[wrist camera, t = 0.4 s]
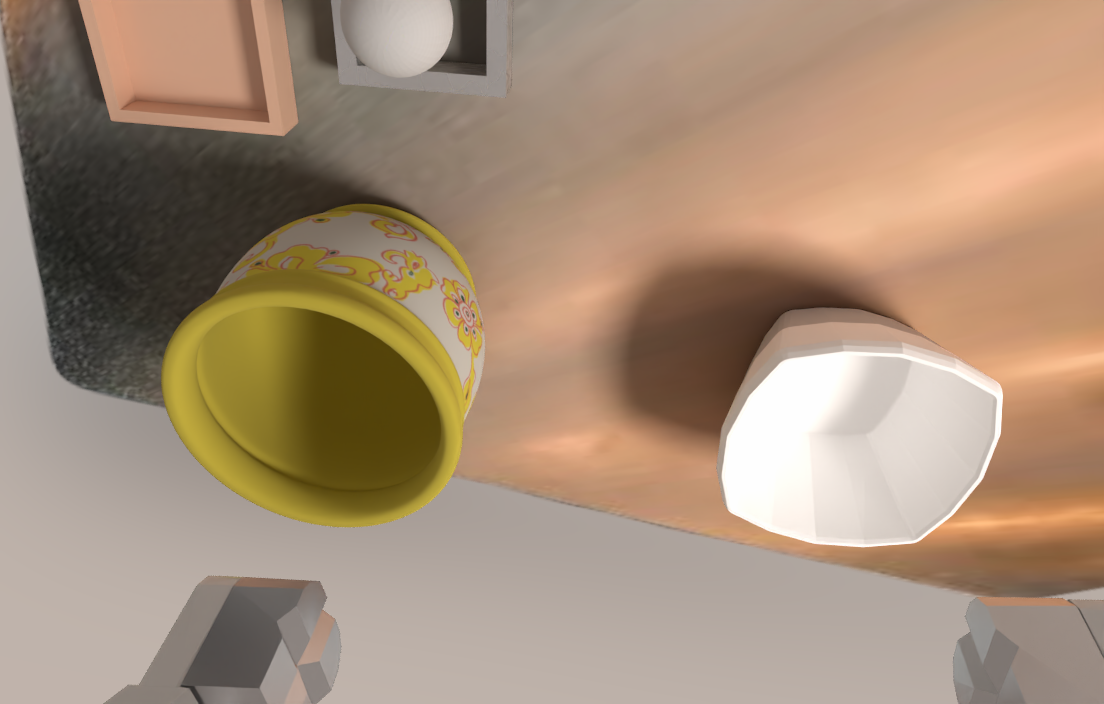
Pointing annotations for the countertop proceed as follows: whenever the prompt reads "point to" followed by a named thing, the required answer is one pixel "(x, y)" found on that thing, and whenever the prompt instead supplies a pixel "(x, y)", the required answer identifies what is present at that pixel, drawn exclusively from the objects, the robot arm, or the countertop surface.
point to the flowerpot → (332, 368)
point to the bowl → (855, 431)
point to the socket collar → (442, 62)
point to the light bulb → (397, 33)
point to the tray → (194, 63)
